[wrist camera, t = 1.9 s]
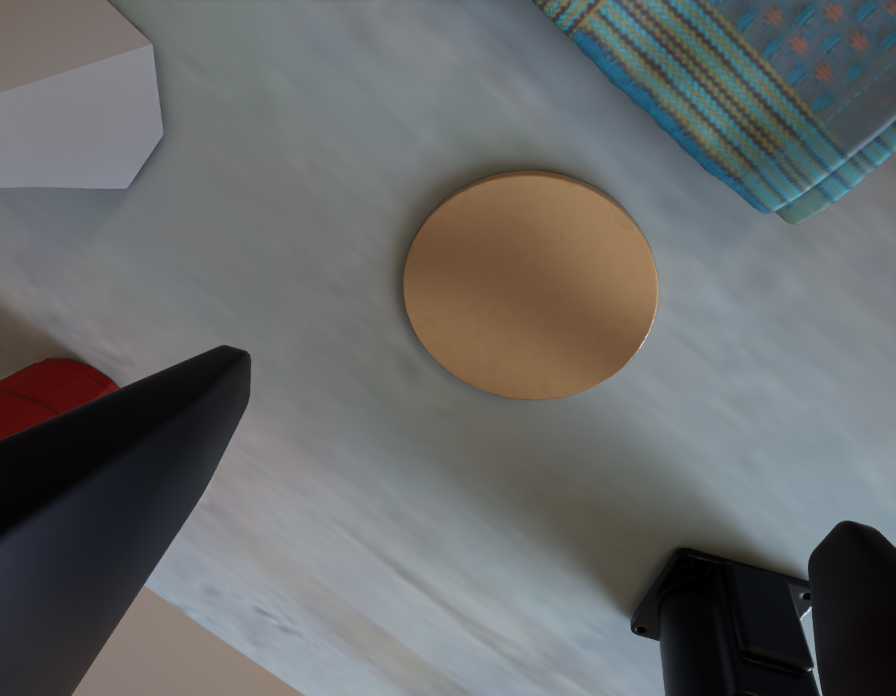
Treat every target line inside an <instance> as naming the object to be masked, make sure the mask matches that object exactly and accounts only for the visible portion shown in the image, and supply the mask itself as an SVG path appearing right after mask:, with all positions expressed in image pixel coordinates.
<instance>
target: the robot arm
mask: <svg viewBox="0 0 896 696" xmlns="http://www.w3.org/2000/svg"><path fill="white" fill-rule="evenodd" d="M250 383H251V357H250V354H249V353H248V352H247V351H245V350H241V349H238V348H234V347H231V346H226V345H222V346H219V347H216V348H214V349H211V350H209V351H207V352H204V353H202V354H200V355H197V356H195V357H193V358H190V359H188V360H186V361H183V362H181V363H179V364H176V365H174V366H172V367H169V368H167V369H165V370H162V371H160V372H158V373H155V374H153V375H151V376H148V377H146V378H144V379H141V380H139V381H137V382H134V383H132V384H130V385H127V386H125V387H123V388H120V389H118V390H116V391H113V392H111V393H109V394H106V395H104V396H102V397H99V398H97V399H95V400H92V401H90V402H88V403H85V404H83V405H81V406H78V407H76V408H74V409H71V410H69V411H67V412H64V413H62V414H60V415H57V416H55V417H53V418H50V419H48V420H46V421H43V422H41V423H39V424H36V425H34V426H32V427H29V428H27V429H25V430H22V431H20V432H18V433H15V434H13V435H11V436H8V437H6V438H4V439H1V440H0V696H71V695H72V694H73V692H74V691H75V689H76V688H77V686H78V684H79V683H80V681H81V680H82V678H83V677H84V675H85V674H86V672H87V671H88V669H89V668H90V666H91V665H92V663H93V661H94V660H95V659H96V657H97V655H98V654H99V652H100V651H101V649H102V648H103V646H104V645H105V643H106V642H107V640H108V639H109V637H110V636H111V634H112V633H113V631H114V629H115V628H116V626H117V625H118V623H119V622H120V620H121V619H122V617H123V616H124V614H125V613H126V611H127V610H128V608H129V606H130V605H131V603H132V602H133V600H134V599H135V597H136V596H137V594H138V592H139V591H140V590H141V588H142V587H143V585H144V584H145V582H146V581H147V579H148V578H149V576H150V574H151V573H152V571H153V570H154V568H155V567H156V565H157V564H158V562H159V561H160V559H161V558H162V556H163V555H164V553H165V552H166V550H167V548H168V547H169V545H170V544H171V542H172V541H173V539H174V538H175V536H176V535H177V533H178V532H179V530H180V529H181V527H182V526H183V524H184V523H185V521H186V519H187V518H188V516H189V515H190V513H191V512H192V510H193V509H194V507H195V506H196V504H197V502H198V501H199V499H200V498H201V496H202V494H203V493H204V491H205V489H206V487H207V485H208V483H209V482H210V480H211V478H212V476H213V474H214V472H215V470H216V468H217V466H218V464H219V462H220V460H221V458H222V456H223V454H224V452H225V450H226V448H227V446H228V444H229V442H230V440H231V438H232V436H233V434H234V432H235V430H236V428H237V425H238V423H239V421H240V419H241V417H242V415H243V413H244V411H245V409H246V407H247V404H248V401H249V397H250ZM808 575H809V581H806V580H802V579H799V578H795V577H792V576H788V575H784V574H781V573H777V572H773V571H770V570H766V569H762V568H759V567H755V566H751V565H748V564H744V563H741V562H737V561H733V560H730V559H726V558H722V557H719V556H715V555H711V554H708V553H704V552H701V551H697V550H693V549H689V548H681V549H678V550H676V551H675V552H674V554H673V555H672V557H671V558H670V560H669V562H668V563H667V565H666V566H665V568H664V569H663V571H662V572H661V574H660V575H659V577H658V579H657V580H656V582H655V583H654V585H653V586H652V588H651V589H650V591H649V593H648V594H647V596H646V597H645V599H644V600H643V602H642V603H641V605H640V607H639V608H638V610H637V611H636V613H635V614H634V616H633V617H632V619H631V622H630V623H631V631H632V632H633V633H634V634H636V635H639V636H643V637H646V638H650V639H654V640H657V641H660V650H661V660H662V669H663V679H664V689H665V696H820V694H819V691H818V688H817V684H816V681H815V678H814V675H813V671H812V668H813V667H814V663H813V660H812V657H811V653H810V650H809V647H808V644H807V640H806V637H805V634H804V631H803V628H802V624H801V621H800V620H801V619H802V618H803V617H804V616H805V615H806V614H807V613H808V612H809V611H810V609H811V608H812V619H813V630H814V641H815V651H816V659H817V667H818V673H819V679H820V685H821V690H822V695H823V696H896V548H895V547H894V546H893V545H892V544H891V543H890V542H889V541H888V540H887V539H886V538H885V537H884V536H883V535H882V534H881V533H880V532H879V531H878V530H876V529H875V528H873V527H870V526H867V525H863V524H860V523H856V522H853V521H842V522H840V523H838V524H837V525H836V526H835V527H834V528H833V529H832V531H831V532H830V533H829V534H828V535H827V536H826V537H825V538H824V540H823V541H822V542H821V543H820V544H819V545H818V546H817V547H816V548H815V550H814V551H813V552H812V554H811V556H810V559H809V563H808Z"/></svg>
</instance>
